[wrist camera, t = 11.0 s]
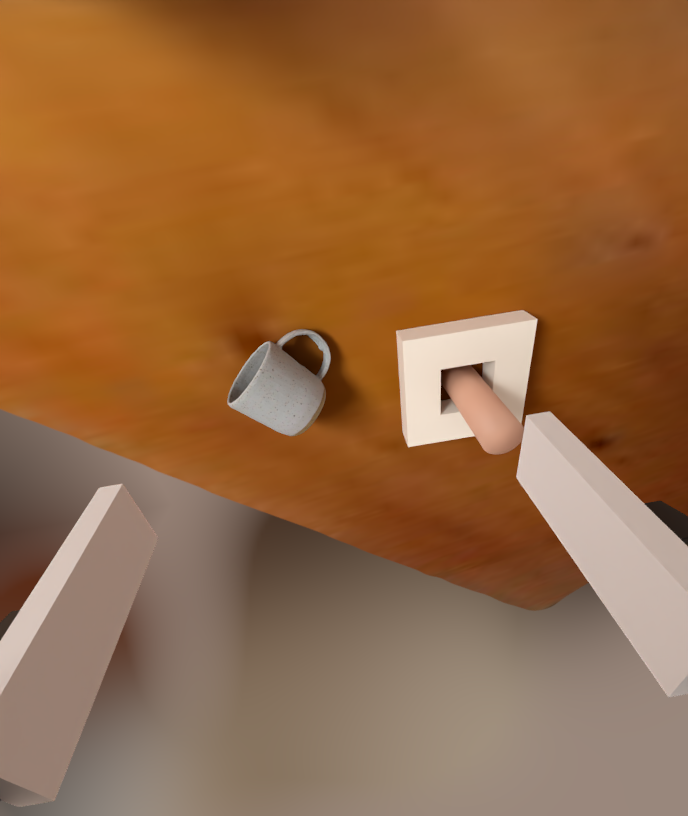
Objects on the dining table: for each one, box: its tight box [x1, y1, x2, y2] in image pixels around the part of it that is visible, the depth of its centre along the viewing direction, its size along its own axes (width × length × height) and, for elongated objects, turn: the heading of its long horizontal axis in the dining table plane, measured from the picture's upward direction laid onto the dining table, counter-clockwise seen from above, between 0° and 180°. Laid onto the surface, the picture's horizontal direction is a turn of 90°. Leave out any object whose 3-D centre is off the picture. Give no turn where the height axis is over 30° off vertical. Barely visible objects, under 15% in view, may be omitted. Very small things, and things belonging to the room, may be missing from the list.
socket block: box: [396, 310, 538, 447], centre depth 43 cm, size 14×14×3 cm
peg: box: [441, 365, 524, 454], centre depth 39 cm, size 4×4×12 cm
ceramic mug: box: [228, 329, 331, 436], centre depth 38 cm, size 11×8×8 cm
